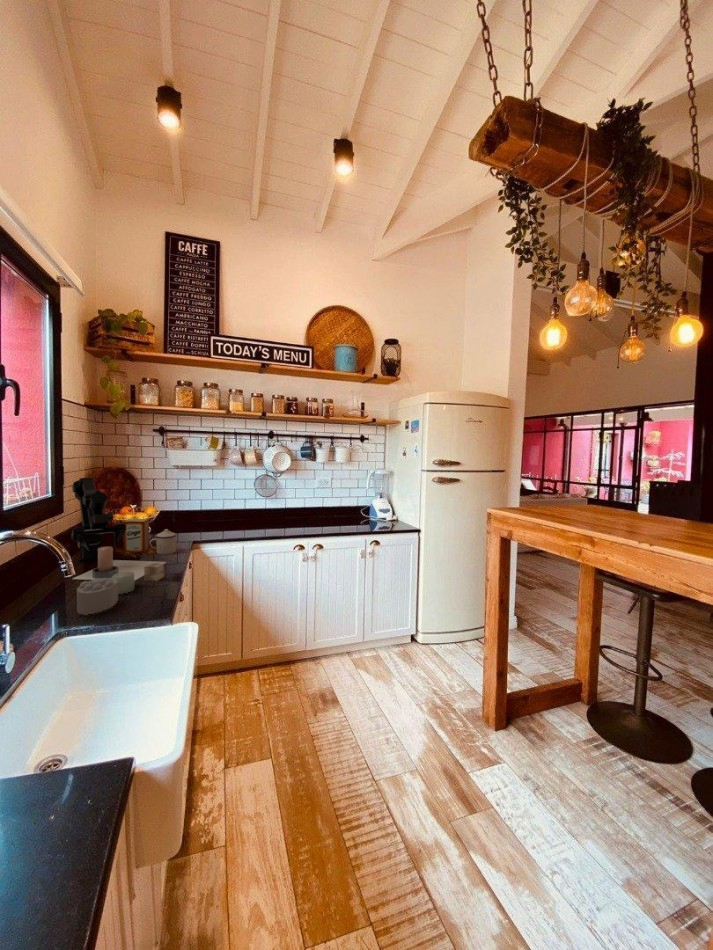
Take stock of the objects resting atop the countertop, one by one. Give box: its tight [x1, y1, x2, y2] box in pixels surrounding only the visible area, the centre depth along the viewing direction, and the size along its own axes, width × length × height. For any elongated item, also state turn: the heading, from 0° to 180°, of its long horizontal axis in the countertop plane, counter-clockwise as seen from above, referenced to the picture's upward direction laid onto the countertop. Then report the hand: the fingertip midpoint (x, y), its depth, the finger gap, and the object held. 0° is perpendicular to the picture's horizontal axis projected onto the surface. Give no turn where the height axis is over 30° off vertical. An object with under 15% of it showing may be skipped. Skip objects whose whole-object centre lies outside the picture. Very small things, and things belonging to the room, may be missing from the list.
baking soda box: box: [122, 518, 150, 554], centre depth 200 cm, size 10×6×16 cm
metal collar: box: [92, 566, 118, 578], centre depth 159 cm, size 9×9×2 cm
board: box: [72, 559, 167, 584], centre depth 166 cm, size 24×26×2 cm
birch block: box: [143, 563, 165, 582], centre depth 157 cm, size 5×5×7 cm
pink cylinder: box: [97, 545, 114, 572], centre depth 159 cm, size 5×5×11 cm
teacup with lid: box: [149, 528, 177, 555], centre depth 199 cm, size 12×9×12 cm
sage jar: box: [112, 572, 136, 595], centre depth 147 cm, size 7×7×6 cm
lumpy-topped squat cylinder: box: [76, 578, 119, 616], centre depth 132 cm, size 10×13×9 cm
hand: (102, 548), depth 162 cm, fingers open, 9 cm apart
